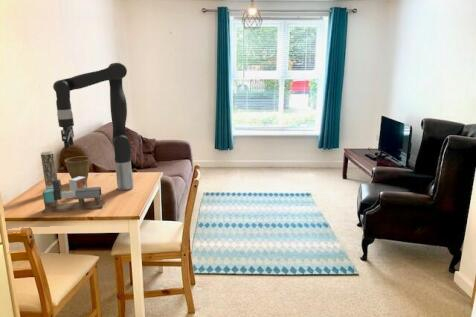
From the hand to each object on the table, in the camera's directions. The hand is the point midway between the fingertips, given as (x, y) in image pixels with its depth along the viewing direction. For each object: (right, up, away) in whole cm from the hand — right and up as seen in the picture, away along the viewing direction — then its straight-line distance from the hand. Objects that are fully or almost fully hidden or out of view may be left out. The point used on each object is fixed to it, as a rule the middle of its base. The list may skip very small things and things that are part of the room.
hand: (69, 146), depth 196 cm
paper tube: (-17, -28, +16) cm, 36 cm away
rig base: (+7, -33, -7) cm, 34 cm away
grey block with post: (+4, -27, -9) cm, 29 cm away
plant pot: (-10, -23, +36) cm, 44 cm away
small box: (+1, -28, +11) cm, 31 cm away
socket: (-5, -29, -11) cm, 31 cm away
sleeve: (+14, -27, -7) cm, 32 cm away
